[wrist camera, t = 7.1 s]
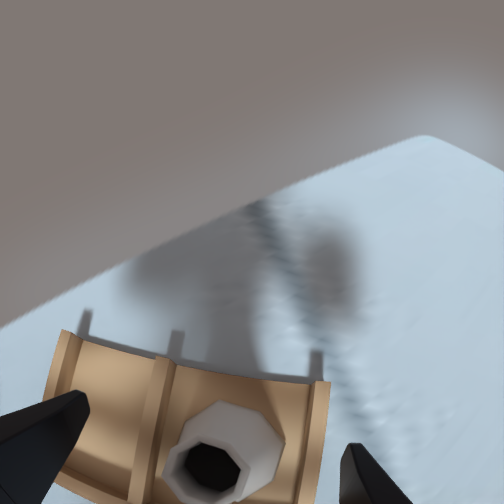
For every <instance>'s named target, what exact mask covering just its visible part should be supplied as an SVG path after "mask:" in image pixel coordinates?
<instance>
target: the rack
mask: <svg viewBox="0 0 504 504" xmlns="http://www.w3.org/2000/svg"><path fill="white" fill-rule="evenodd" d="M330 387H331V382H325V381H315V382H314V383H312V384H311V385H307V384H297V383H287V382H278V381H270V380H262V379H255V378H248V377H241V376H235V375H228V374H222V373H217V372H211V371H206V370H200V369H195V368H190V367H185V366H180V365H177V364H176V363H174V362H173V361H172V360H171V359H168V358H164V357H159V356H156V358H155V360H154V359H150V358H145V357H141V356H138V355H134V354H130V353H126V352H122V351H119V350H115V349H112V348H108V347H105V346H101V345H98V344H94V343H91V342H88V341H85V340H83V339H81V338H79V337H78V336H76V335H75V334H73V333H72V332H69V331H66V330H63V329H62V330H61V333H60V336H59V339H58V343H57V346H56V349H55V353H54V356H53V360H52V364H51V367H50V371H49V375H48V379H47V383H46V387H45V391H44V396H43V400H42V402H43V401H46V400H48V399H51V398H54V397H56V396H59V395H62V394H64V393H67V392H70V391H72V390H75V389H77V390H80V391H82V392H85V393H86V395H87V398H88V402H89V405H90V415H89V417H88V419H87V421H86V424H85V426H84V428H83V430H82V432H81V434H80V437H79V439H78V441H77V443H76V445H75V447H74V448H73V450H72V452H71V453H70V455H69V457H68V458H67V460H66V462H65V463H64V465H63V467H62V468H61V470H60V472H59V473H58V475H57V477H56V478H55V480H54V482H55V483H56V484H58V485H60V486H62V487H64V488H66V489H67V490H69V491H71V492H73V493H75V494H77V495H79V496H81V497H83V498H86V499H88V500H90V501H92V502H94V503H96V504H186V503H183V502H181V501H180V500H179V499H178V498H177V496H176V495H175V494H174V492H173V491H172V490H171V489H170V487H169V486H168V485H167V483H166V482H165V481H164V479H163V478H162V476H161V475H162V472H163V469H164V466H165V463H166V460H167V458H168V455H169V452H170V449H171V448H172V447H174V446H176V445H177V442H178V440H179V437H180V434H181V431H182V428H183V425H184V423H185V421H186V420H188V419H189V418H191V417H192V416H194V415H196V414H197V413H199V412H200V411H202V410H204V409H205V408H207V407H208V406H210V405H211V404H213V403H215V402H216V401H218V400H223V401H226V402H229V403H232V404H235V405H239V406H242V407H246V408H249V409H253V410H256V411H260V412H261V413H262V415H263V416H264V417H265V418H266V420H267V421H268V422H269V423H270V424H271V426H272V427H273V428H274V429H275V430H276V432H277V433H278V434H279V435H280V436H281V438H282V439H283V440H284V441H285V442H286V445H285V448H284V451H283V454H282V457H281V460H280V463H279V466H278V469H277V472H276V475H275V478H274V481H272V482H271V483H269V484H267V485H266V486H264V487H263V488H261V489H260V490H258V491H256V492H255V493H253V494H251V495H250V496H248V497H246V498H245V499H243V500H241V501H240V502H236V501H234V502H232V503H230V504H314V501H315V495H316V490H317V484H318V479H319V473H320V466H321V460H322V453H323V446H324V439H325V432H326V424H327V415H328V407H329V397H330Z"/></svg>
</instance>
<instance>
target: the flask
mask: <svg viewBox="0 0 504 504" xmlns="http://www.w3.org/2000/svg"><path fill="white" fill-rule="evenodd" d="M285 445H286V442H285V441H284V440H283V439H282V438H281V436H280V435H279V434H278V433H277V432H276V430H275V429H274V428H273V427H272V426H271V424H270V423H269V422H268V421H267V420H266V418H265V417H264V416H263V415H262V413H261V412H260V411H256V410H253V409H249V408H246V407H242V406H239V405H235V404H232V403H229V402H226V401H223V400H218V401H216V402H215V403H213V404H211V405H210V406H208V407H207V408H205V409H204V410H202V411H200V412H199V413H197V414H196V415H194V416H192V417H191V418H189V419H188V420H186V421H185V423H184V425H183V428H182V431H181V434H180V437H179V440H178V442H177V445H176V446H174V447H172V448H171V449H170V452H169V455H168V458H167V460H166V463H165V466H164V469H163V472H162V475H161V476H162V478H163V479H164V481H165V482H166V483H167V485H168V486H169V487H170V489H171V490H172V491H173V492H174V494H175V495H176V496H177V498H178V499H179V500H180V501H181V502H183V503H186V504H230V503H232V502H234V501H236V502H240V501H241V500H243V499H245V498H246V497H248V496H250V495H251V494H253V493H255V492H256V491H258V490H260V489H261V488H263V487H264V486H266V485H267V484H269V483H271V482H272V481H274V478H275V475H276V472H277V469H278V466H279V463H280V460H281V457H282V454H283V451H284V448H285Z"/></svg>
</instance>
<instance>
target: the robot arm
mask: <svg viewBox="0 0 504 504" xmlns="http://www.w3.org/2000/svg"><path fill="white" fill-rule="evenodd" d="M89 415H90V405H89V402H88V398H87V395H86V393H85V392H82V391H80V390H77V389H75V390H72V391H70V392H67V393H64V394H62V395H59V396H56V397H54V398H51V399H48V400H46V401H43V402H40V403H38V404H35V405H32V406H29V407H26V408H24V409H21V410H18V411H15V412H12V413H9V414H6V415H3V416H1V417H0V504H41V503H42V501H43V499H44V497H45V496H46V494H47V492H48V490H49V489H50V487H51V485H52V483H53V482H54V480H55V478H56V477H57V475H58V473H59V472H60V470H61V468H62V467H63V465H64V463H65V462H66V460H67V458H68V457H69V455H70V453H71V452H72V450H73V448H74V447H75V445H76V443H77V441H78V439H79V437H80V434H81V432H82V430H83V428H84V426H85V424H86V421H87V419H88V417H89ZM339 504H413V503H412V502H411V501H410V500H409V499H408V497H407V496H406V495H405V494H404V493H403V492H402V491H401V489H400V488H399V487H398V486H397V485H396V484H395V482H394V481H393V480H392V479H391V478H390V477H389V475H388V474H387V473H386V472H385V471H384V470H383V468H382V467H381V466H380V465H379V464H378V463H377V461H376V460H375V459H374V458H373V457H372V455H371V454H370V453H369V452H368V451H367V449H366V448H365V447H364V446H363V445H362V444H361V443H349V444H348V445H347V447H346V449H345V451H344V454H343V456H342V458H341V463H340V492H339Z"/></svg>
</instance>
